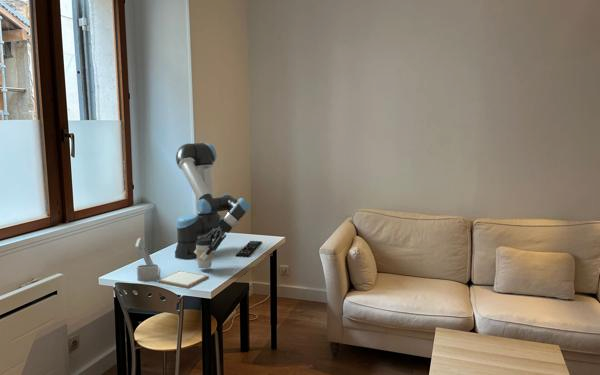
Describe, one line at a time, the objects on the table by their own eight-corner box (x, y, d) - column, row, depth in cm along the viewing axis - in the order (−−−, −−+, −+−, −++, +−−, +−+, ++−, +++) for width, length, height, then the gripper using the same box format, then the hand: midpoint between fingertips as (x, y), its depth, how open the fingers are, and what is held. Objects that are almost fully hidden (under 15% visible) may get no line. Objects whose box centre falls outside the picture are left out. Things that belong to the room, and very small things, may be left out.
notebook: (157, 282, 217) (157, 280, 217) (179, 272, 231) (179, 270, 231) (187, 288, 209) (187, 285, 209) (208, 277, 224) (208, 275, 224)
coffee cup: (198, 270, 229) (197, 241, 227) (194, 264, 237) (193, 237, 235) (215, 267, 233) (215, 239, 231) (210, 262, 241) (210, 235, 239)
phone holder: (158, 279, 221) (157, 243, 219) (136, 281, 219) (134, 245, 216) (160, 268, 238) (158, 235, 235) (139, 269, 235) (138, 236, 233)
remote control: (235, 257, 259) (235, 254, 259) (250, 243, 290) (250, 240, 290) (248, 258, 258) (248, 255, 257) (261, 243, 289) (261, 240, 289)
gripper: (240, 232, 231) (210, 266, 225) (224, 223, 249) (197, 254, 244) (230, 223, 227) (200, 258, 222) (215, 214, 246) (187, 246, 240)
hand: (198, 256), depth 233 cm, fingers closed on coffee cup, 9 cm apart
